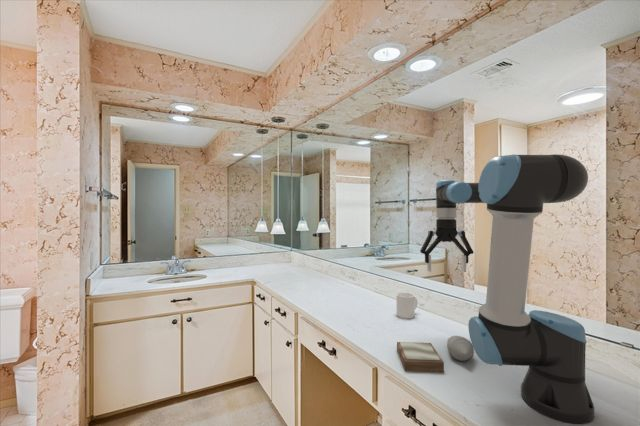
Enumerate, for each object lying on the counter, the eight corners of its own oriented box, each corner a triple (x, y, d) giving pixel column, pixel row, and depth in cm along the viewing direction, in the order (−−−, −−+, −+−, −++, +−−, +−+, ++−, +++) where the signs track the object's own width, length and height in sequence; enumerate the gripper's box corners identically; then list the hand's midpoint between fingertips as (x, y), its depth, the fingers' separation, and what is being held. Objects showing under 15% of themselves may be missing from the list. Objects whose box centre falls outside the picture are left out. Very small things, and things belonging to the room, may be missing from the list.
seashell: (455, 375, 106) (460, 357, 97) (434, 346, 115) (437, 327, 105) (475, 364, 108) (482, 345, 98) (453, 336, 116) (458, 316, 106)
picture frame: (443, 372, 95) (443, 361, 95) (404, 370, 96) (404, 360, 96) (430, 351, 109) (430, 342, 109) (396, 350, 110) (396, 341, 110)
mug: (410, 310, 152) (410, 290, 152) (423, 315, 145) (423, 294, 145) (392, 314, 146) (392, 293, 146) (405, 320, 139) (405, 298, 139)
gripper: (474, 218, 125) (474, 269, 125) (412, 218, 127) (412, 269, 127) (482, 218, 118) (482, 273, 117) (417, 218, 120) (417, 272, 119)
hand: (446, 271), depth 122 cm, fingers open, 13 cm apart
